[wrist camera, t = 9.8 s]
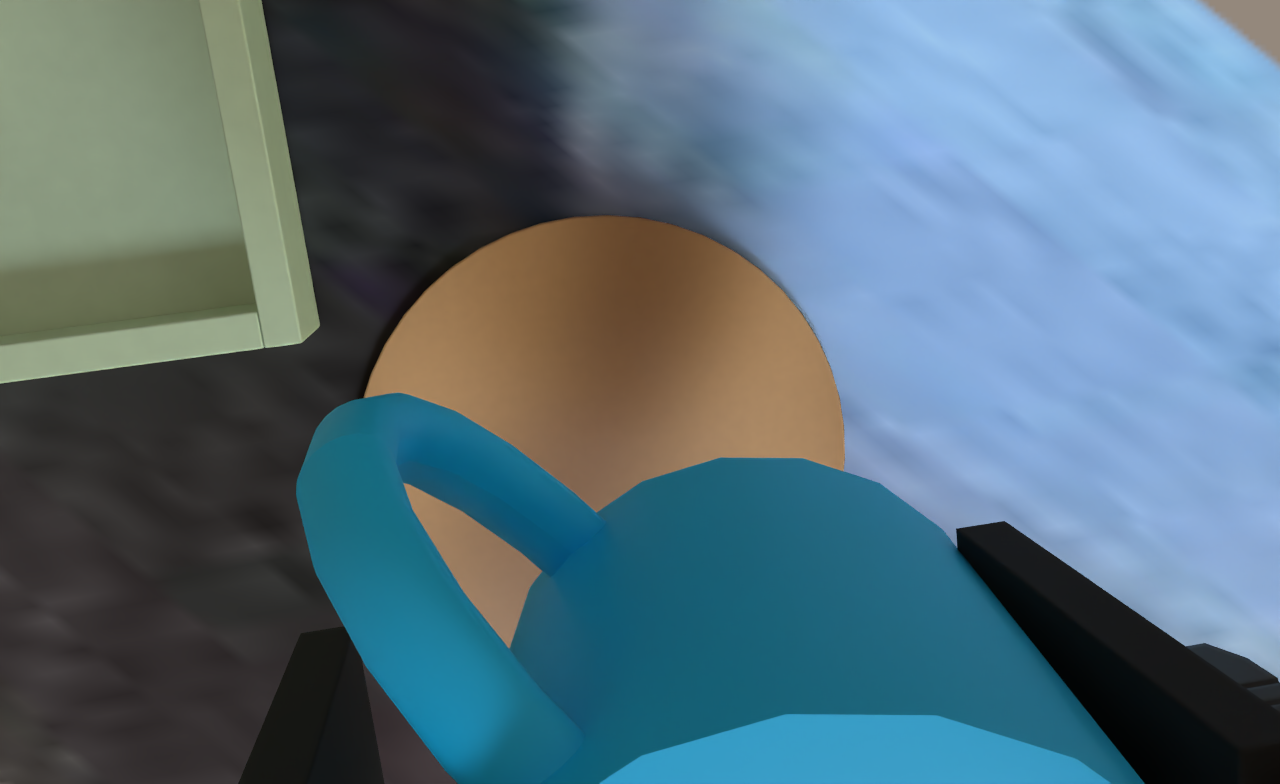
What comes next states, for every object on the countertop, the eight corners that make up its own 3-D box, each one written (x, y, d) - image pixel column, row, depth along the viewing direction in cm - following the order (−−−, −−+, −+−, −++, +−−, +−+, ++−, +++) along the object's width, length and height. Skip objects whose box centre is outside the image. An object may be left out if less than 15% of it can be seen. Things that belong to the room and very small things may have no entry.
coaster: (820, 185, 27) (824, 185, 27) (858, 645, 30) (862, 651, 29) (315, 248, 26) (313, 250, 25) (399, 722, 28) (398, 729, 28)
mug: (1107, 699, 18) (1468, 1123, 10) (744, 1002, 19) (815, 1591, 12) (585, 164, 17) (533, 175, 9) (222, 534, 18) (-122, 847, 10)
